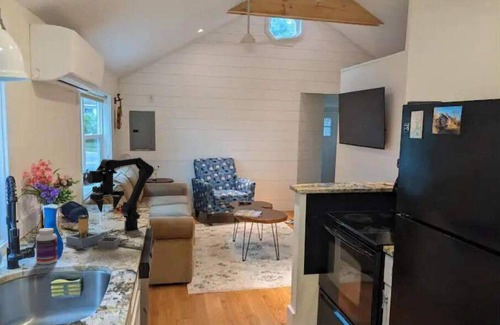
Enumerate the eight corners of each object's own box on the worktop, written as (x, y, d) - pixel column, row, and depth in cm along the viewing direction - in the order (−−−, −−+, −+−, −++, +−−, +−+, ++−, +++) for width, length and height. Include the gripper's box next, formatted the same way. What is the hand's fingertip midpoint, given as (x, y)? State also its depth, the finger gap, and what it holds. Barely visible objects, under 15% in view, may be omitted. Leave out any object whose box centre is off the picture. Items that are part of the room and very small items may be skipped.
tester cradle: (104, 243, 189) (104, 236, 189) (120, 244, 189) (120, 237, 189) (97, 248, 181) (97, 241, 181) (114, 249, 181) (114, 242, 181)
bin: (84, 238, 196) (84, 231, 196) (99, 242, 191) (99, 234, 191) (66, 244, 186) (66, 236, 186) (81, 247, 182) (81, 239, 181)
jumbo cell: (89, 240, 191) (89, 215, 190) (86, 242, 187) (86, 217, 186) (80, 240, 191) (80, 215, 190) (77, 242, 186) (77, 217, 185)
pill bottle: (60, 262, 161) (59, 229, 160) (39, 267, 156) (38, 232, 154) (54, 257, 167) (53, 225, 166) (33, 261, 161) (33, 228, 160)
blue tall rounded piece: (70, 232, 207) (70, 196, 206) (56, 237, 198) (55, 199, 196) (50, 229, 212) (49, 194, 210) (35, 233, 203) (34, 197, 201)
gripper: (111, 179, 217) (111, 205, 218) (83, 182, 201) (83, 211, 202) (125, 180, 211) (124, 208, 213) (97, 184, 195) (97, 214, 196)
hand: (107, 210), depth 206 cm, fingers open, 9 cm apart
